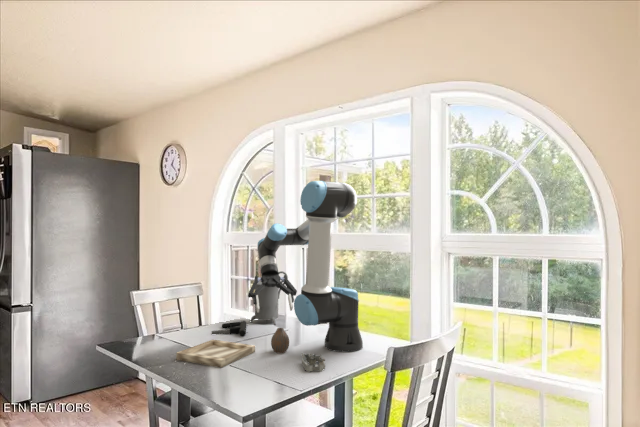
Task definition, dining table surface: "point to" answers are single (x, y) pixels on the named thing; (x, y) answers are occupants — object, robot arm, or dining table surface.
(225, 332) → the door handle
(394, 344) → the dining table surface
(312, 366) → the egg carton
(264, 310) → the mug
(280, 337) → the vase
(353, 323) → the robot arm
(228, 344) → the tray
